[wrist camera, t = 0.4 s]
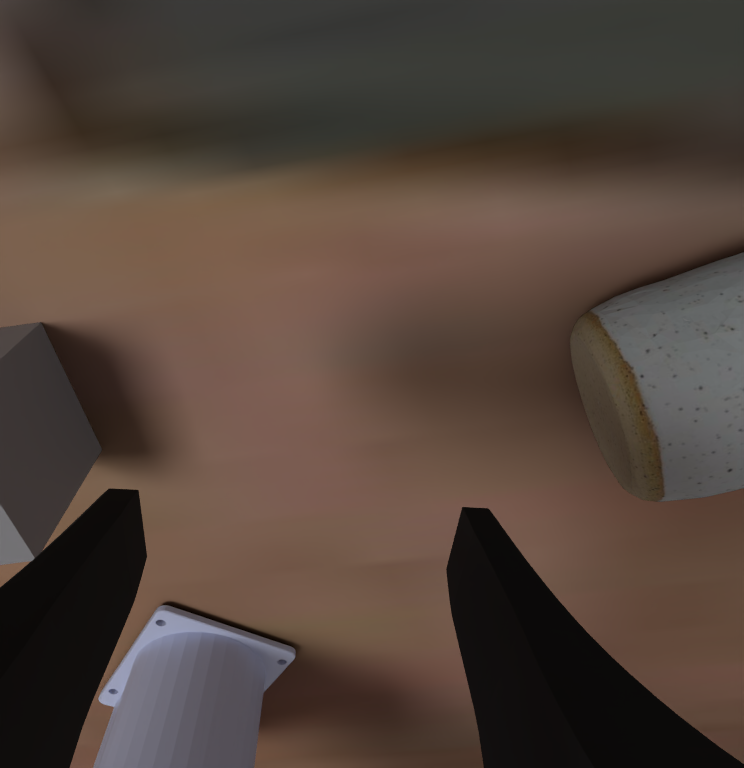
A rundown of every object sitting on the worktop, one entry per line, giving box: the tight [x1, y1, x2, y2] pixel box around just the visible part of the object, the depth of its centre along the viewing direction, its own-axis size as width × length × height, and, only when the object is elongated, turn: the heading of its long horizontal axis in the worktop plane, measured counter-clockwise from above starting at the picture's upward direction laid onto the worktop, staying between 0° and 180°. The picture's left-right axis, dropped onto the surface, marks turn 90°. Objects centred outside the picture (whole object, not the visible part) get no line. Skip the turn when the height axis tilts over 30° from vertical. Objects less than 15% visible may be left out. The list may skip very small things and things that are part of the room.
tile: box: [0, 322, 102, 565], centre depth 20 cm, size 2×6×6 cm, turn 7°
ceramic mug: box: [570, 252, 744, 502], centre depth 20 cm, size 11×8×8 cm
